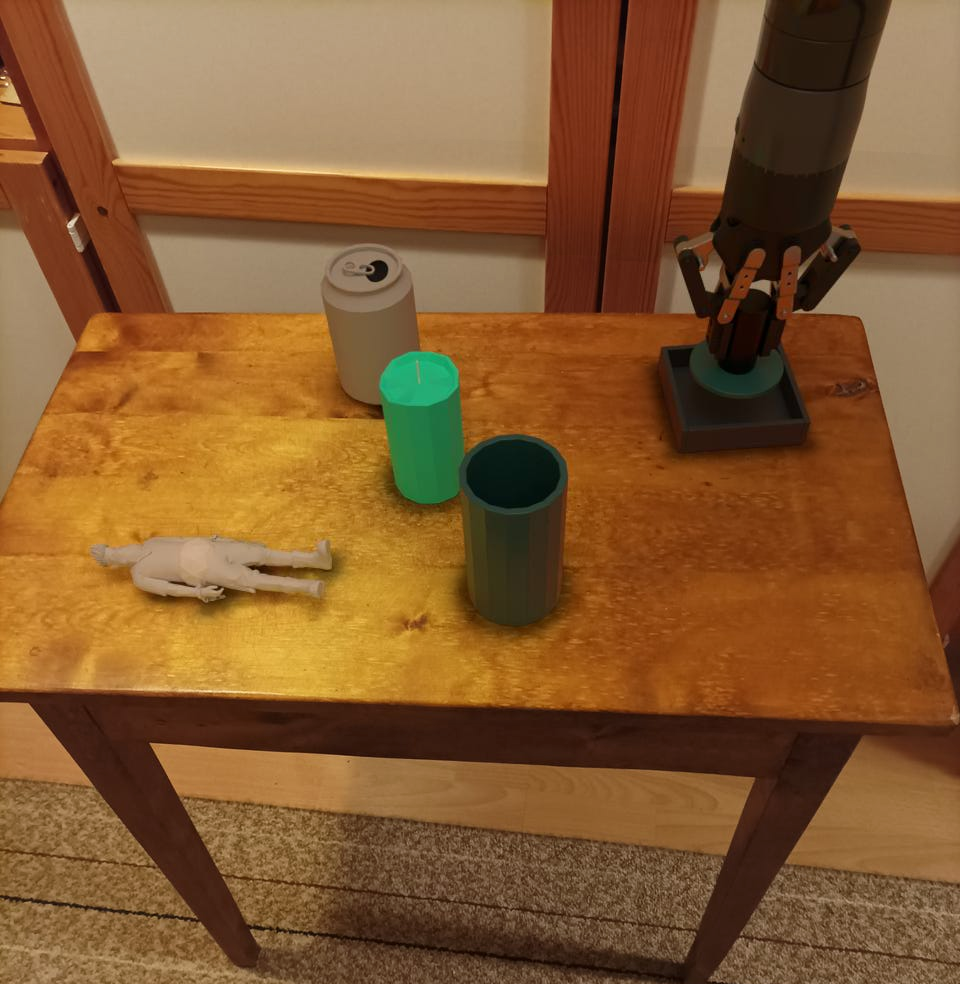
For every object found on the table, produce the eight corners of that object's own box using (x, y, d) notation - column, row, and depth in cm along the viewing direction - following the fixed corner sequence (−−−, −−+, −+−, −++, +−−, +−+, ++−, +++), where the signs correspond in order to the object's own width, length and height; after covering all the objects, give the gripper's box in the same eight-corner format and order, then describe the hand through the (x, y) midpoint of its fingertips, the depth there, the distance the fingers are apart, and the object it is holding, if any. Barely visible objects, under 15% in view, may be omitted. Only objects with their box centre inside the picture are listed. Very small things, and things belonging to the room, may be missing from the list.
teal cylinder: (555, 548, 71) (561, 430, 60) (565, 622, 67) (573, 509, 57) (466, 555, 71) (456, 437, 60) (470, 629, 67) (461, 517, 57)
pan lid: (768, 340, 78) (789, 266, 72) (790, 401, 74) (814, 328, 68) (680, 346, 78) (693, 273, 72) (697, 408, 74) (713, 335, 68)
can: (422, 410, 80) (407, 292, 70) (337, 412, 80) (311, 295, 70) (426, 354, 84) (412, 234, 74) (345, 355, 84) (321, 237, 74)
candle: (432, 440, 78) (419, 323, 68) (481, 476, 75) (475, 359, 65) (380, 478, 76) (358, 362, 66) (428, 516, 73) (414, 402, 63)
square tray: (773, 360, 82) (780, 337, 80) (803, 444, 76) (811, 422, 74) (657, 369, 82) (660, 346, 80) (678, 453, 76) (682, 431, 74)
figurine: (318, 590, 65) (66, 578, 65) (324, 625, 68) (84, 613, 68) (331, 520, 69) (95, 508, 69) (336, 555, 72) (110, 544, 72)
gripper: (697, 176, 57) (661, 389, 72) (919, 161, 57) (838, 377, 72) (676, 115, 61) (646, 328, 76) (882, 101, 61) (813, 316, 76)
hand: (740, 350), depth 74 cm, fingers closed on pan lid, 3 cm apart
